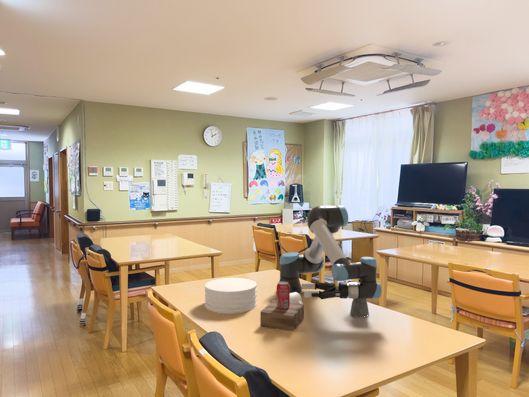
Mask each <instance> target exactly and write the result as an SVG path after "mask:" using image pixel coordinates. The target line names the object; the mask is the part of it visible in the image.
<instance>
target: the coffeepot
mask: <svg viewBox="0 0 529 397" xmlns="http://www.w3.org/2000/svg"><path fill="white" fill-rule="evenodd" d="M348 282H354V281H351V280H347V282H346V283H348ZM357 282H360V279H357ZM367 301H368V299H363V298H355V299H352V302H351V306H350V315H351V314H352V316H353V317H356V316H358V318H365V317H364V316H367V315H368V316H369V314H370V312H369V305H368V302H367ZM368 316H367V317H368Z"/></svg>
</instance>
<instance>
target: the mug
mask: <svg viewBox="0 0 529 397" xmlns="http://www.w3.org/2000/svg"><path fill="white" fill-rule="evenodd" d="M302 300H303V299H302V296H301V294H299V293H297V292H293V293H290V302H291V303H300V304H303V301H302Z"/></svg>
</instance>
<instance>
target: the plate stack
mask: <svg viewBox="0 0 529 397" xmlns="http://www.w3.org/2000/svg"><path fill="white" fill-rule="evenodd" d="M257 286H258V284H257V282H256V281H254V280H252V279H248V278H243V277H242V278H241V277H225V278H224V277H223V278H217V279H212V280H209V281H207V282H206V283H205V285H204V288H205V290H204V293H205V294H204V302H205V304H204V306H205V308H206V310H208V311H210V312H213V313H218V314H240V313H244V312H245V313H246V312H249V311H252V310H254V309H255V308H256V307H257V306H258V302H257V300H258V299H257V297H258V295H257V294H258V293H257V291H258V290H257Z"/></svg>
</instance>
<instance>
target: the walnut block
mask: <svg viewBox="0 0 529 397" xmlns="http://www.w3.org/2000/svg"><path fill="white" fill-rule="evenodd" d="M304 318H305V303H302V304H300V303H291V302H290V306H289V307H288V308H287V309H280V308H278V307H277V300H272V301H271V302H270V303H269V304H267V306H265V307H264V308H263V309H262V310H261V311H260V318H259V319H260V324H259V325H260V327H261V328H268V329H273V330H279V331H280V330H282V331H288V332H295V331H296V329H297V328H298V326H300V324H301V323H302V322H303V320H304Z"/></svg>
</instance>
